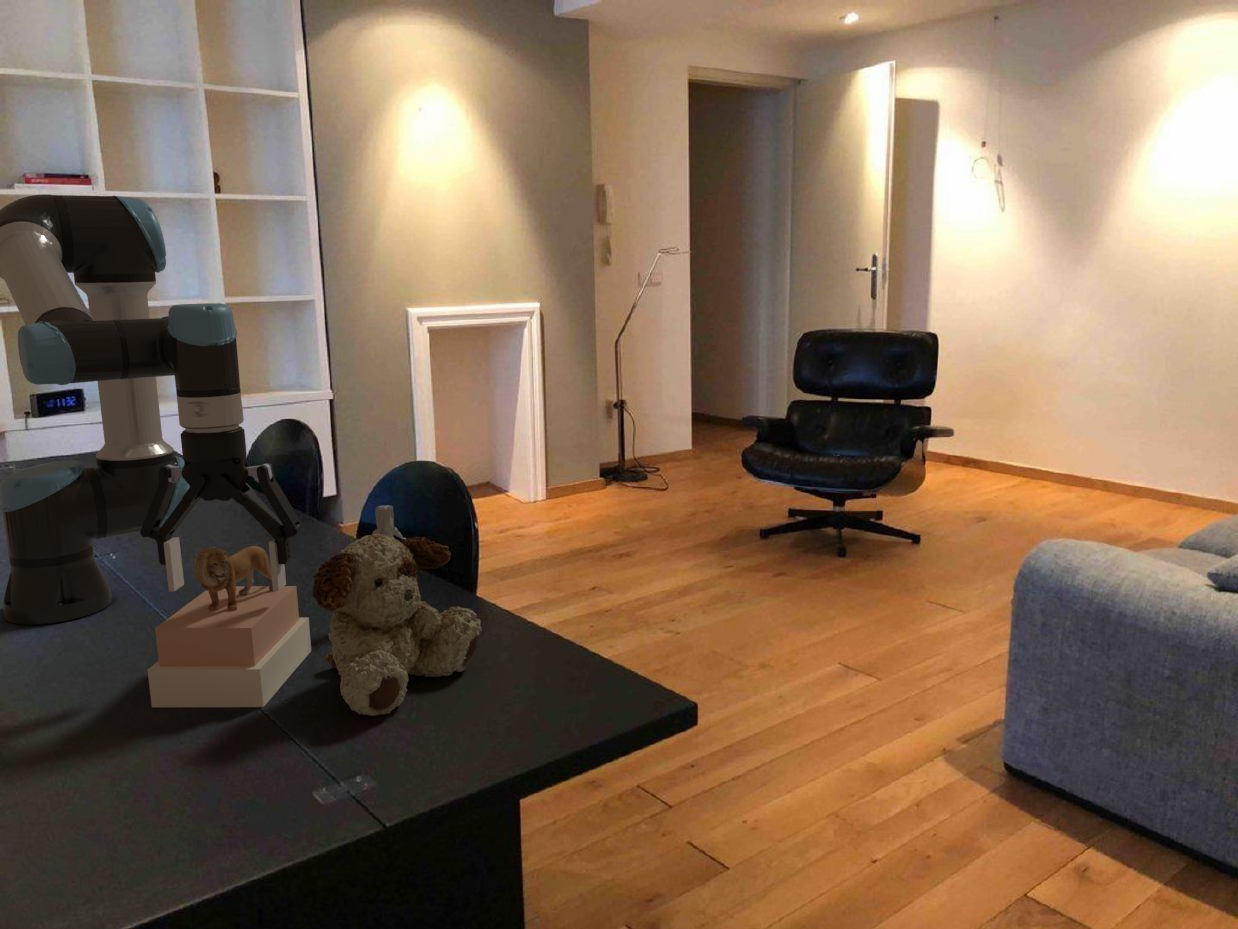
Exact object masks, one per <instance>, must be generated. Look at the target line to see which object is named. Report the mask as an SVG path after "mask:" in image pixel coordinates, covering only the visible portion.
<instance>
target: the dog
mask: <svg viewBox="0 0 1238 929" xmlns="http://www.w3.org/2000/svg"><path fill="white" fill-rule="evenodd" d="M405 538H406V537H405ZM449 548H450V547H449V546H448V545H442V544H440V543H438V542H437V543H436V541H435V540H434V541H433V540H432V541H431V540H430V539H429V538H427V537H425V536H421V537H420V536H418V537H417V536H415V537H414V536H409V537H408V538H406V539H396V538H395V537H394V536H393V537H391V538H390V537H389V536H385V535H384V534H369V535H364V536H361V537H360V538H358V539H356V540H354V541H353V542H352V543H349V544H348V545H347V546H346V547H345V548H344V549H341V550H340V552H339V553H337V554H335V555H333V556H330V559H329V560H325V561H324V562H323V563H322V564H320V567H318V571H317V572H314V574H313V575H312V578H313V579H312V580H313V582H314V583H313V585H312V593H311V595H312V597H313V598H314V600H315V601H316V602H317V605H318V606H319V607H320V608H323V609H324V610H325V611H331V612H334V611H335V612H334V613H333V614H331V618H330V625H328V626H329V629H330V630H329V632H328V633H327V636H328V639H329V640H330V641H331V644H332V648H331V652H326V654H325V658H324V660H325V661H326V662H328V663H329V664H330V666H332V667H333V668H334V669H337V671H338V675H339V676H340V684H339V689H340V693H341V694H340V695H341V697H342V698H343V699H344V702H345V703H346V704H347V705H348V706H349V708H350V710H351V711H353V712H356V714H358V715H365V716H371V717H372V716H380V715H386V714H390V713H392V710H395V708H397V707H398V706H401V704H402V703H403V702H404V699H405V697H406V692H408V689H407V686H408V682H409V675H410V676H413V675H414V676H417V677H420V676H421V677H430V678H431V677H433V678H435V677H438V678H439V677H440V678H441V677H442V676H445V677H448V676H452V675H453V674H454V672H461V673H462V672H463V671H465V669H466V666H467V665H468V664H469V661H470V660H471V659H472V657H473V655H474V653H475V652H476V650H477V647H478V643H479V638H480V634H481V632H482V631H483V630H482V629H483V627H482V626H481V619H480V618H477V617H478V614H476V613H475V612H474V611H473V609H471V608H467V607H466V608H465V607H460V606H450V607H449V608H448V610H443V611H442V612H439V610H438V609H437V608H434V607H432V606H431V605H430V604H429V603H427V602H426V601H425V600H424V601H422V600H421V594H420V587H419V581H418V574H417V571H418V569H421V570H430V569H432V570H433V569H435V570H437V569H439V568H441V567H444V566H445V565H446V564H447V563H449V561H450V560H451V556H452V553H451V551H450V550H449Z"/></svg>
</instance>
